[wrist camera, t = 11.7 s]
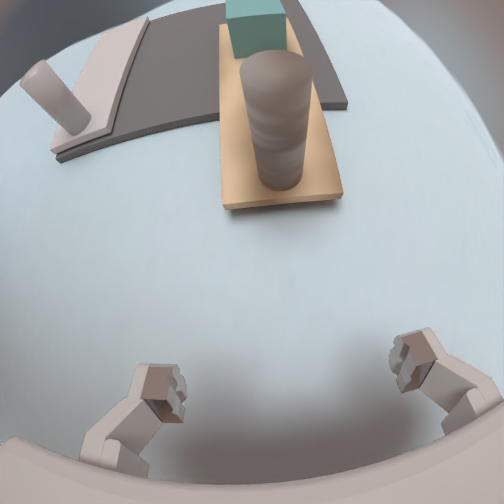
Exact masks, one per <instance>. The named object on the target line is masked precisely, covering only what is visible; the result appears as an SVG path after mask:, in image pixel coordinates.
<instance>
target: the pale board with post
mask: <svg viewBox="0 0 504 504" xmlns="http://www.w3.org/2000/svg"><path fill="white" fill-rule="evenodd" d="M149 21H150V20H149V18H148V16H147V17H144V18H141V19H138V20H135V21H133V22H130V23H128V24H125V25H122V26H120V27H118V28H115V29H113V30H111V31H108V32H106V33H104V34H102V36H101V37H100V39H99V41H98V42H97V44H96V46H95V47H94V49H93V51H92V53H91V54H90V56H89V58H88V60H87V62H86V64H85V66H84V67H83V69H82V71H81V73H80V75H79V77H78V79H77V81H76V84H75V86H74V88H73V90H72V92H71V91H70V90H69V89H68V87H67V86H66V85H65V84H64V83H63V82H62V80H61V79H60V78H59V77H58V76H57V75H56V73H55V72H54V71H53V70H52V69H51V67H50V66H49V65H48V64H47V63H46V61H45V60H41V61H39V62H38V63H36V64H35V65H34V66H33V67H32V68H31V69H30V70H29V71H28V72H27V73H26V74H25V75H24V77H23V78H22V80H21V82H20V86H21V87H22V88H23V89H24V90H25V91H26V92H27V93H28V94H29V95H30V96H31V97H32V98H33V99H34V100H35V101H36V102H37V103H38V104H39V105H40V106H41V107H42V108H43V109H44V110H45V111H46V112H47V113H48V114H49V115H50V116H51V117H52V118H53V119H54V120H55V121H56V122H57V123H58V127H57V130H56V132H55V135H54V138H53V141H52V144H51V147H50V151H52V152H53V153H54V154H57V153H59V152H61V151H64V150H66V149H68V148H71V147H73V146H76V145H78V144H81V143H83V142H86V141H89V140H91V139H94V138H97V137H100V136H103V135H105V134H108V133H111V130H112V126H113V122H114V119H115V115H116V111H117V108H118V104H119V101H120V97H121V94H122V91H123V88H124V85H125V82H126V79H127V76H128V73H129V70H130V67H131V64H132V62H133V59H134V56H135V54H136V51H137V49H138V46H139V44H140V41H141V39H142V37H143V34H144V32H145V30H146V28H147V25H148V23H149Z"/></svg>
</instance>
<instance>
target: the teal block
mask: <svg viewBox="0 0 504 504" xmlns="http://www.w3.org/2000/svg"><path fill="white" fill-rule="evenodd" d="M226 20H227V25H228V29H229V34H230V39H231V44H232V48H233V53H234V58H235V59H239V58H247V57H249V56H251V55H253V54H255V53H258V52H261V51H266V50H287V33H286V13H285V10H284V8H283V6H282V4H281V2H280V0H226Z"/></svg>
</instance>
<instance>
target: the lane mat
mask: <svg viewBox="0 0 504 504" xmlns="http://www.w3.org/2000/svg"><path fill="white" fill-rule="evenodd" d="M280 2H281V4H282V6H283V8H284V10H285V13H286V18H288V19H289V22H290V24H291V26H292V29H293V31H294V33H295V36H296V38H297V41H298V43H299V46H300V48H301V51H302V53H303V56H304V57H305V58H306V59H307V60H308V61H309V62H310V63H311V65H312V68H313V78H312V81H313V84H314V87H315V90H316V93H317V96H318V99H319V102H320V105H321V108H322V110H346V109H347V105H348V101H347V98H346V96H345V93H344V91H343V88H342V86H341V84H340V81H339V79H338V77H337V74H336V72H335V70H334V68H333V66H332V63H331V61H330V59H329V57H328V55H327V53H326V51H325V49H324V47H323V45H322V43H321V41H320V39H319V37H318V35H317V33H316V31H315V29H314V27H313V25H312V24H311V22H310V20H309V18H308V16H307V15H306V13H305V11H304V9H303V8H302V6H301V4H300V3H299V1H298V0H280ZM221 24H227V20H226V3H222V4H216V5H210V6H205V7H200V8H196V9H191V10H187V11H183V12H179V13H175V14H172V15H168V16H165V17H161V18H158V19H155V20H152V21H149V23H148V25H147V28H146V30H145V32H144V34H143V37H142V39H141V41H140V44H139V46H138V49H137V51H136V54H135V56H134V59H133V62H132V64H131V67H130V70H129V73H128V76H127V79H126V82H125V85H124V88H123V91H122V94H121V97H120V101H119V104H118V108H117V111H116V115H115V119H114V122H113V126H112V130H111V133H108V134H105V135H103V136H100V137H97V138H94V139H91V140H89V141H86V142H83V143H81V144H78V145H76V146H73V147H71V148H68V149H66V150H64V151H61V152H59V153H57V155H56V160H57V161H58V162H60V163H62V162H65V161H67V160H70V159H73V158H75V157H78V156H81V155H83V154H86V153H89V152H92V151H95V150H98V149H101V148H104V147H107V146H110V145H113V144H116V143H120V142H123V141H126V140H130V139H133V138H137V137H141V136H144V135H148V134H152V133H156V132H160V131H165V130H169V129H173V128H178V127H182V126H187V125H192V124H197V123H203V122H208V121H214V120H220V102H219V25H221Z"/></svg>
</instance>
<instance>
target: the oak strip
mask: <svg viewBox="0 0 504 504" xmlns="http://www.w3.org/2000/svg"><path fill="white" fill-rule="evenodd" d="M286 33H287V50H266V51H261V52H258V53H255V54H253V55H251V56H249V57H247V58H239V59H235V58H234V53H233V48H232V44H231V39H230V34H229V29H228V25H227V24H221V25H219V102H220V148H221V179H222V204H223V206H224V208H225V210H231V209H239V208H248V207H257V206H266V205H276V204H286V203H297V202H308V201H320V200H333V199H341V197H342V195H343V188H342V184H341V179H340V175H339V171H338V167H337V163H336V158H335V155H334V151H333V147H332V143H331V139H330V136H329V132H328V129H327V125H326V122H325V118H324V115H323V112H322V108H321V105H320V102H319V99H318V96H317V93H316V90H315V87H314V84H313V81H312V78H313V68H312V65H311V63H310V62H309V61H308V60H307V59H306V58H305V57H304V56H303V53H302V51H301V48H300V46H299V43H298V41H297V38H296V36H295V33H294V31H293V29H292V26H291V24H290V22H289V19H288V18H286Z"/></svg>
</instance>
